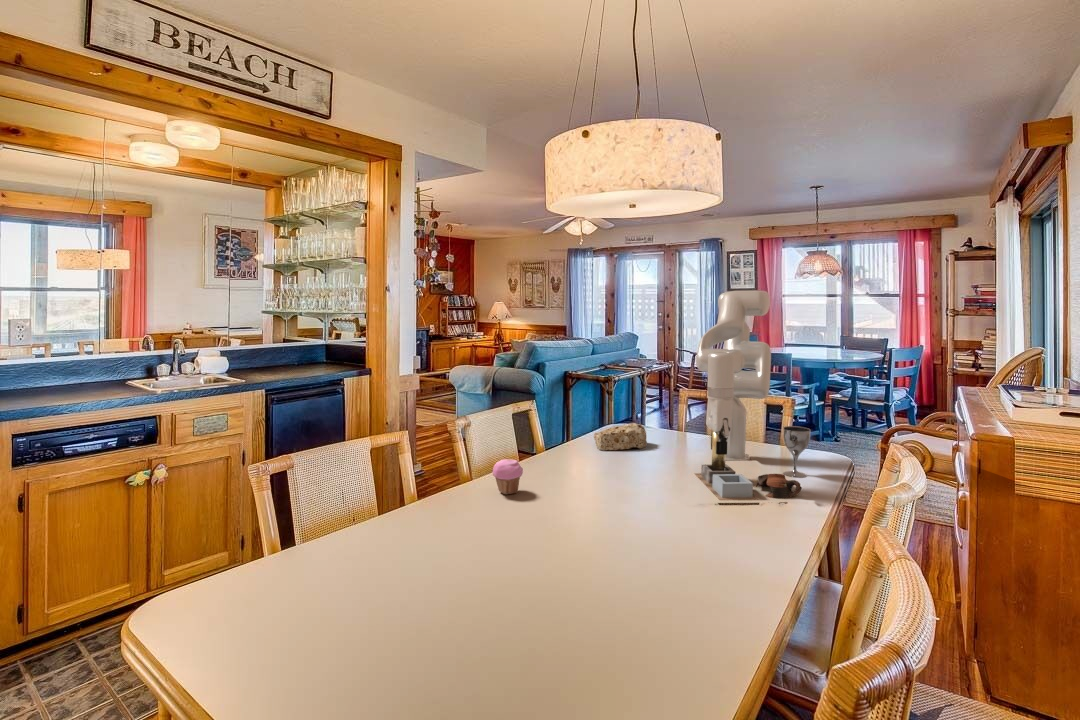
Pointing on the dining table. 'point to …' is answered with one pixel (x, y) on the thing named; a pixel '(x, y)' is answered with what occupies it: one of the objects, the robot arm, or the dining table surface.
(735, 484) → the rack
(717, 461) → the brass cylinder
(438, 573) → the dining table surface
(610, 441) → the rock
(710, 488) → the tool board
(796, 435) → the wine glass
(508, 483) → the cupcake
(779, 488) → the pottery mug
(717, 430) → the robot arm
